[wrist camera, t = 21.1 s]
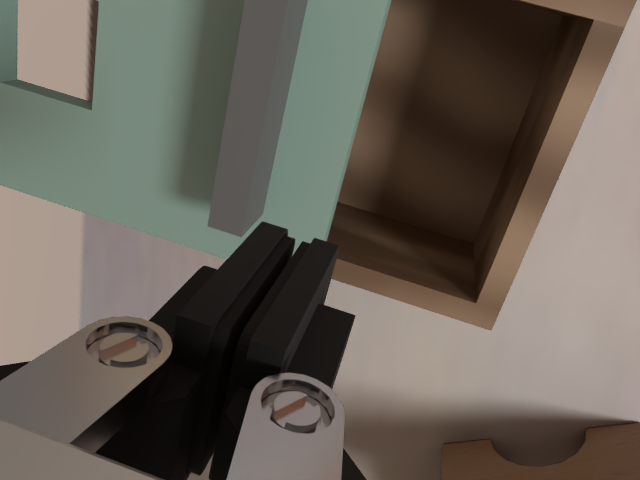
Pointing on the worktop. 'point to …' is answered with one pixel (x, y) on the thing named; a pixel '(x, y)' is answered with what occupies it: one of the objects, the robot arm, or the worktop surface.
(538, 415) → the worktop surface
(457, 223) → the open wooden box
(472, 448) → the wooden toy
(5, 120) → the lid
